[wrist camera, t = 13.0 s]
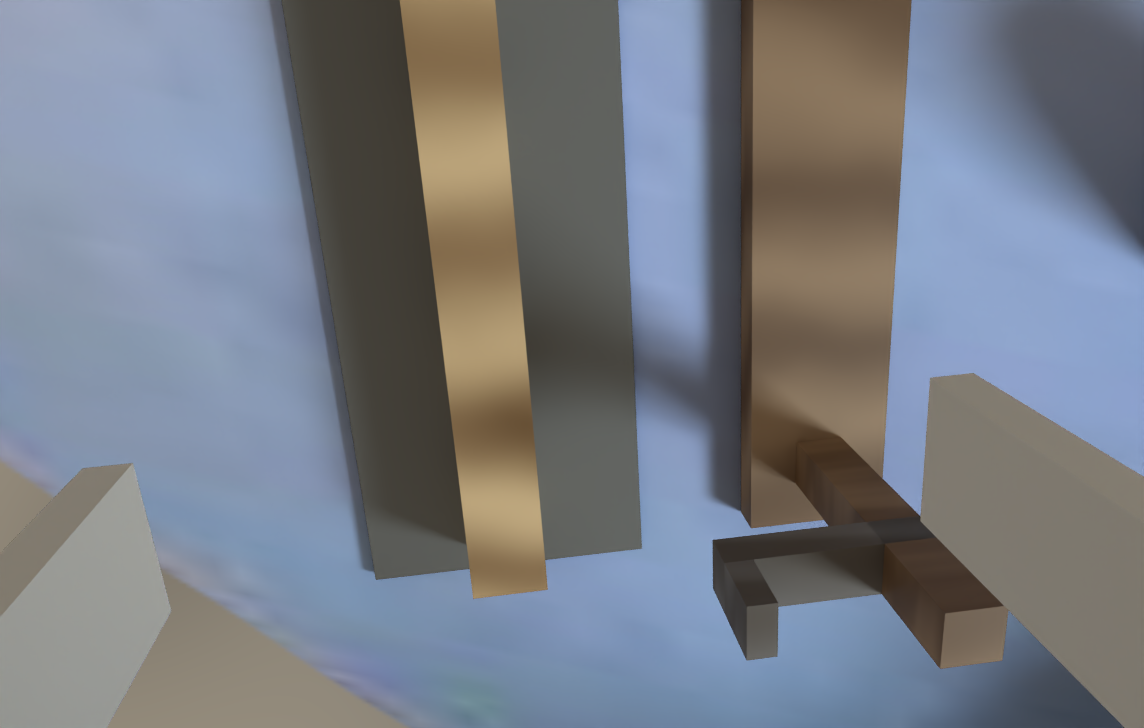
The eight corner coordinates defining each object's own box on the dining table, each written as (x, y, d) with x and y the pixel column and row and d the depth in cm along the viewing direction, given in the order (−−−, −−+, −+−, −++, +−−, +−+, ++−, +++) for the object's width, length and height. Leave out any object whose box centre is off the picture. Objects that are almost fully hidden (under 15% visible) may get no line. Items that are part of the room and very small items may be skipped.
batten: (540, 538, 39) (547, 589, 35) (473, 546, 39) (473, 598, 35) (474, -181, 30) (475, -216, 26) (385, -177, 29) (373, -212, 26)
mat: (639, 542, 40) (641, 548, 40) (377, 573, 39) (375, 579, 39) (606, -213, 30) (608, -217, 30) (252, -197, 29) (248, -202, 29)
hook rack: (866, 497, 41) (1055, 704, 28) (664, 520, 40) (761, 745, 27) (903, -193, 31) (1217, -377, 18) (641, -181, 31) (772, -365, 17)
